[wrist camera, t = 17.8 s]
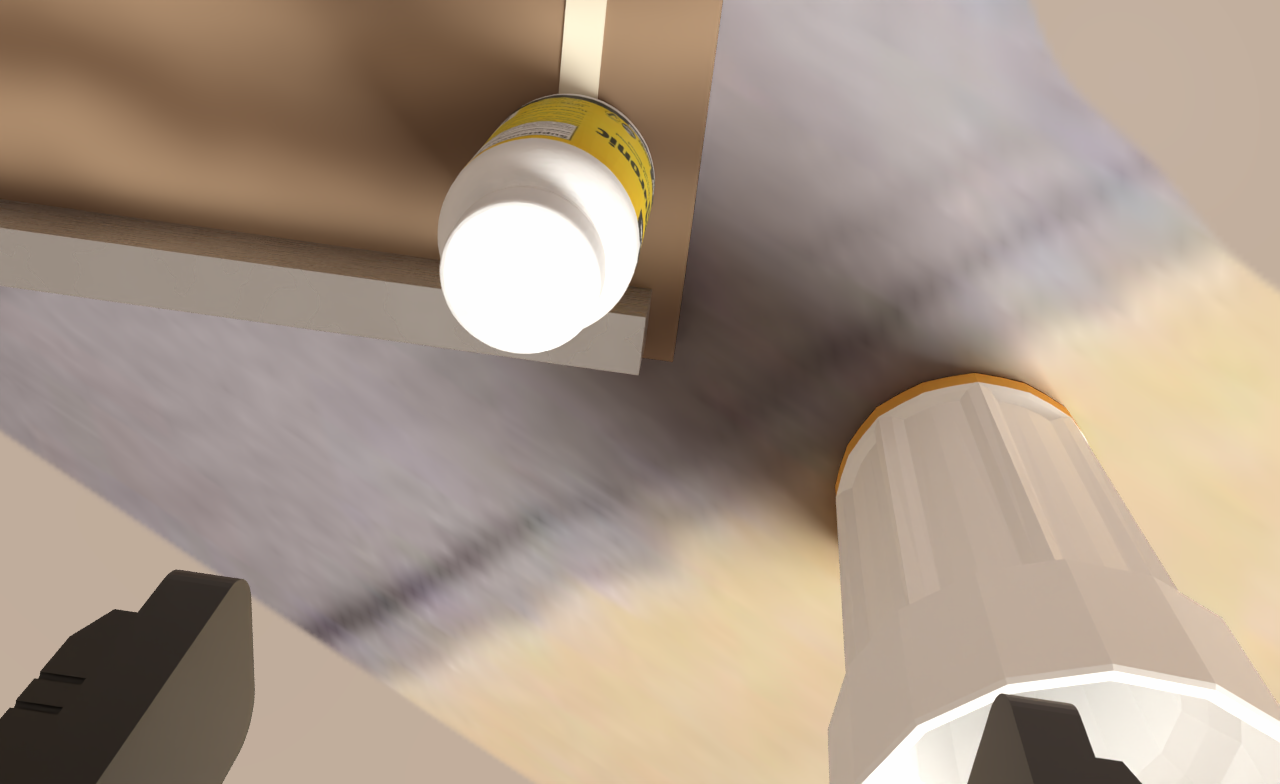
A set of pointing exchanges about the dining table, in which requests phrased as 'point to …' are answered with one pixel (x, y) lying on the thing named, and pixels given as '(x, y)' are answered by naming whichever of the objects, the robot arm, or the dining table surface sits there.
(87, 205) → the brown flat wooden board
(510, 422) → the dining table surface
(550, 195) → the supplement bottle
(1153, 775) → the cup
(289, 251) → the metal straightedge
